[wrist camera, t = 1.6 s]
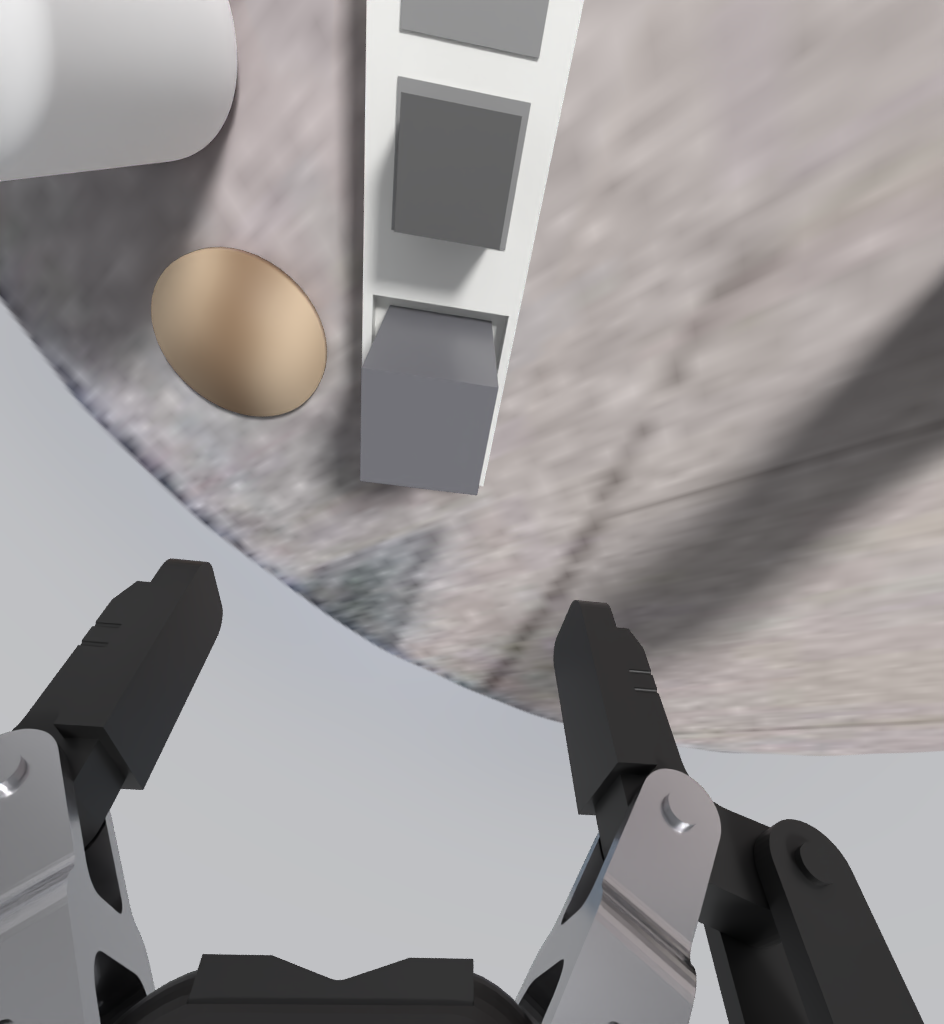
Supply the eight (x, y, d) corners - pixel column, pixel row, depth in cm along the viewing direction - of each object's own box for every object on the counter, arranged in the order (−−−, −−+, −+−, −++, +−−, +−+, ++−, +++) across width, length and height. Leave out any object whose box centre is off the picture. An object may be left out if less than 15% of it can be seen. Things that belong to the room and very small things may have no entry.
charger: (491, 321, 21) (498, 387, 16) (475, 413, 24) (476, 496, 19) (389, 304, 21) (361, 367, 16) (385, 400, 24) (359, 482, 18)
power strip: (656, -432, 12) (775, -787, 7) (482, 456, 28) (484, 522, 24) (394, -517, 11) (342, -964, 7) (369, 441, 28) (349, 506, 23)
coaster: (324, 263, 22) (320, 266, 21) (329, 420, 27) (326, 426, 26) (137, 232, 21) (129, 234, 21) (178, 400, 26) (172, 405, 26)
